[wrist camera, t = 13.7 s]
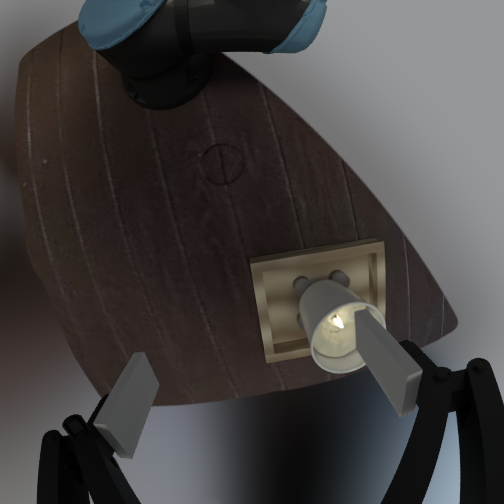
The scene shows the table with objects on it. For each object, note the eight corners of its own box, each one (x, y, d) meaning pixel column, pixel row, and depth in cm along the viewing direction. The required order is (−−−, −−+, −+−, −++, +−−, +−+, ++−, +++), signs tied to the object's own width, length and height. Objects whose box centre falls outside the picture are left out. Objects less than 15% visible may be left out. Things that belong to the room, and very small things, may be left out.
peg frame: (249, 257, 43) (250, 263, 40) (373, 237, 43) (383, 241, 40) (264, 350, 47) (266, 363, 43) (375, 327, 47) (384, 336, 43)
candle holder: (339, 262, 41) (373, 286, 29) (360, 313, 42) (394, 347, 31) (282, 294, 41) (297, 329, 29) (309, 342, 43) (328, 385, 31)
